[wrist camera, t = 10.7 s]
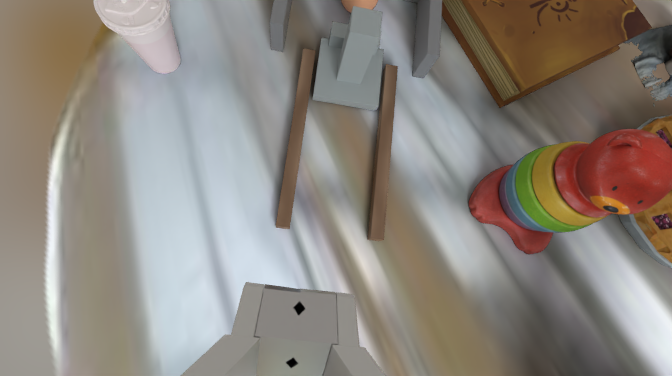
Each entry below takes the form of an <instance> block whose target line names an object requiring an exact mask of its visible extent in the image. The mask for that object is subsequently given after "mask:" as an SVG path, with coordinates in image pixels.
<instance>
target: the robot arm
mask: <svg viewBox="0 0 672 376" xmlns="http://www.w3.org/2000/svg"><path fill="white" fill-rule="evenodd" d="M181 376H386V375H385V374H384V373H383V371H382V370H381V369H380V367H379V366H378V365H377V363H376V362H375V360H374V359H373V358H372V356H371V355H370V354H369V352H368V351H367V350H366V348H364V347H360V346H359V336H358V325H357V314H356V303H355V297H354V295H353V294H346V293H335V292H328V291H318V290H308V289H295V288H288V287H281V286H273V285H266V284H265V285H264V284H257V283H249V282H246V283H245V285H244V288H243V292H242V295H241V299H240V303H239V307H238V310H237V314H236V318H235V322H234V326H233V329H232V333H231V335H226V334H225V335H224V336H223V337H222V338H221V339H220V340H219V341H218V342H217V343H215V344H214V345H213V346H212V347H211V348H210V349H209V350H208V351H207V352H206V353H205V354H204V355H202V356H201V357H200V358H199V359H198V360H197V361H196V362H195V363H194V364H193V365H192V366H191V367H189V368H188V369H187V370H186V371H185V372H184V373H183V374H182V375H181Z"/></svg>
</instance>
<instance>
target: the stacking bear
mask: <svg viewBox="0 0 672 376" xmlns="http://www.w3.org/2000/svg"><path fill="white" fill-rule="evenodd" d="M671 189H672V150H671V148H670V147H669V145H668V144H667V143H666V142H665V141H664V140H663V139H662V138H660V137H659V136H657V135H655V134H653V133H650V132H648V131H644V130H638V129H622V130H617V131H613V132H610V133H607V134H605V135H603V136H601V137H599V138H597V139H596V140H595V141H593V142H592V143H591V144H589V143H586V142H579V141H573V142H565V143H560V144H555V145H549V146H546V147H542V148H539V149H537V150H534V151H532V152H530V153H528V154H527V155H525V156H524V157H522V158H521V159H520V160H518V161H517V162H516V163H515V164H514V165H508V166H505V167H502V168H499V169H497V170H495V171H493V172H492V173H490V174H489V175H487V176H486V177H485V178H484V179H483V180H482V181H481V182H480V183H479V184H478V185H477V187H476V188H475V190H474V191H473V193H472V195H471V197H470V200H469V207H470V209H471V214H472V215H473V216H474V217H476V219H477V220H478V221H479V222H481V223H487V224H494V225H497V226H499V227H501V228H503V229H504V230H505V231H506V232H507V233H508V234H509V235H510V236H511V238H512V240H513V241H514V243H515V245H516V246H517V248H518V249H520V250H521V251H524V252H525V253H526V254H534V253H539V252H541V251H543V250H544V249H545V248H546V246H547V245H548V243H549V242H550V240H551V237H552V235H553V232H555V233H556V232H570V231H575V230H578V229H581V228H584V227H586V226H589V225H591V224H592V223H594V222H597V221H599V220H601V219H603V218H605V217H606V216H608V215H610V214H612V213H614V214H622V215H624V214H635V213H639V212H642V211H644V210H646V209H648V208H650V207H652V206H653V205H655V204H656V203H658V202H659V201H660V200H662V199H663V198H664V197H665V196H666V195H667V194H668V193H669V192H670V190H671Z"/></svg>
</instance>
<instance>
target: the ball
mask: <svg viewBox="0 0 672 376" xmlns="http://www.w3.org/2000/svg"><path fill="white" fill-rule="evenodd" d="M341 1H342V4H343V6H344V7H345V9H346V10H347V11H348V12H350V13H351V12H352V8H353V6H356V7H361V8H366V9H370V10H372V9H373V8H374V7H375V6H376V4H377V2H378V0H341Z"/></svg>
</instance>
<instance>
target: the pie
mask: <svg viewBox="0 0 672 376" xmlns="http://www.w3.org/2000/svg"><path fill="white" fill-rule="evenodd" d="M636 129H638V130H644V131H648V132H650V133H653V134H655V135H657V136H659V137H660V138H662V139H663V140H664V141H665V142H666V143H667V144H668V145H669V147H670V148H671V150H672V115H666V116H660V117H654V118H651V119H649V120H648V121H646V122H645V123H643V124H642V125H641V126H639V127H638V128H636ZM618 215H619V218H620V221H621V223H622V224H623V225H624V227H625V228H626V229H627V231H628V232H629V234H630V235H631V236H632V238H633V239H634V240H635V242H636V243H637V244H638V246H639V247H640V248H641V249H642V250H643V251H645V252H646V253H647V254H649V255H650V256H651V257H652V258H654V259H655V260H656V261H658V262H659V263H660V264H662V265H665V266H667V267H670V268H672V189H671V190H670V192H669V193H668V194H667V195H666V196H665V197H664V198H663V199H662V200H660V201H659V202H658V203H656V204H655V205H653V206H652V207H650V208H648V209H646V210H644V211H642V212H639V213H635V214H624V215H622V214H618Z"/></svg>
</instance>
